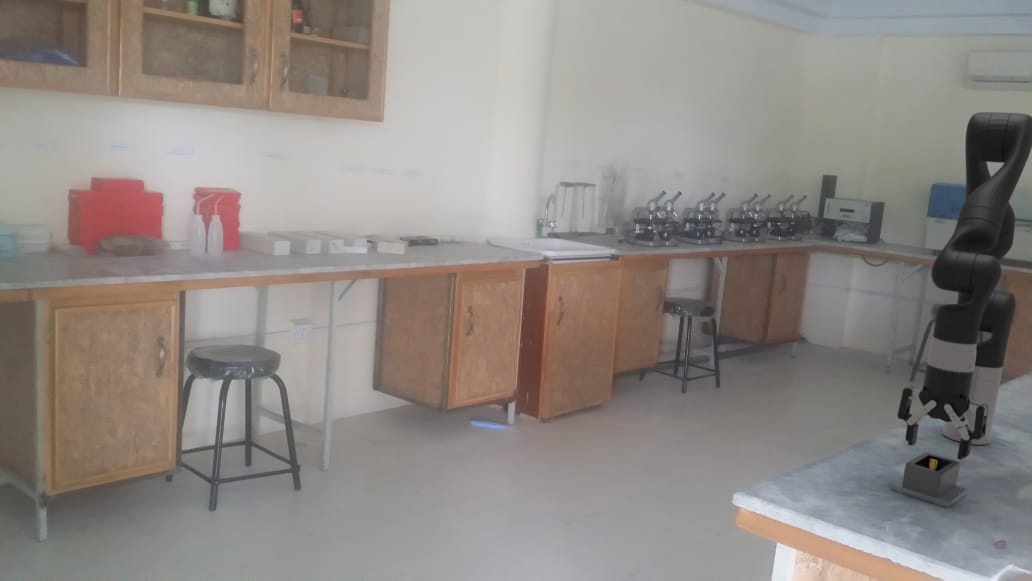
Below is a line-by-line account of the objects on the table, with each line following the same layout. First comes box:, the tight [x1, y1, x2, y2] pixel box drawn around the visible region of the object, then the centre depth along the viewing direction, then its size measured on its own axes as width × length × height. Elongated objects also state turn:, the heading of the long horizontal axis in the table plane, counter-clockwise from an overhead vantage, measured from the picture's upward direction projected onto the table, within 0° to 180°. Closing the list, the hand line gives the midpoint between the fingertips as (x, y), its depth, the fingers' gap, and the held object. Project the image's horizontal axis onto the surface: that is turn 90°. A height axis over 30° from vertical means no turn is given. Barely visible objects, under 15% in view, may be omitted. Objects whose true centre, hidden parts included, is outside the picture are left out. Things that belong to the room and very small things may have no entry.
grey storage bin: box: [902, 451, 961, 499], centre depth 161 cm, size 10×6×4 cm, turn 137°
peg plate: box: [889, 459, 968, 509], centre depth 161 cm, size 10×10×6 cm
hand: (935, 451), depth 160 cm, fingers open, 8 cm apart
